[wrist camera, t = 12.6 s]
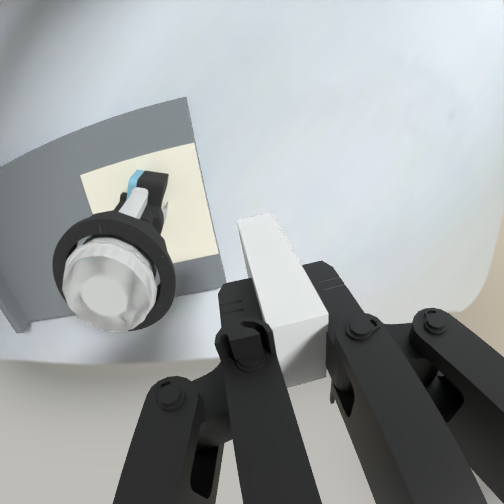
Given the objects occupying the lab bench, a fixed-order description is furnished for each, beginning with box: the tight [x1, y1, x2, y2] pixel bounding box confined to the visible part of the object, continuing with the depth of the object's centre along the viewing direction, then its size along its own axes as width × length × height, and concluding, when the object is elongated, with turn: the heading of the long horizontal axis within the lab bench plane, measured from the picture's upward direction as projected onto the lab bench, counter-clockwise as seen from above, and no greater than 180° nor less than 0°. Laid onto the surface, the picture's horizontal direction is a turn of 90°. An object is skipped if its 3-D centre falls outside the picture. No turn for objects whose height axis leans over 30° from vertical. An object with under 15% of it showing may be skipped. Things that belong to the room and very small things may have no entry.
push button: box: [52, 170, 176, 332], centre depth 14 cm, size 7×5×10 cm
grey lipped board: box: [0, 97, 226, 333], centre depth 18 cm, size 14×21×3 cm, turn 99°
